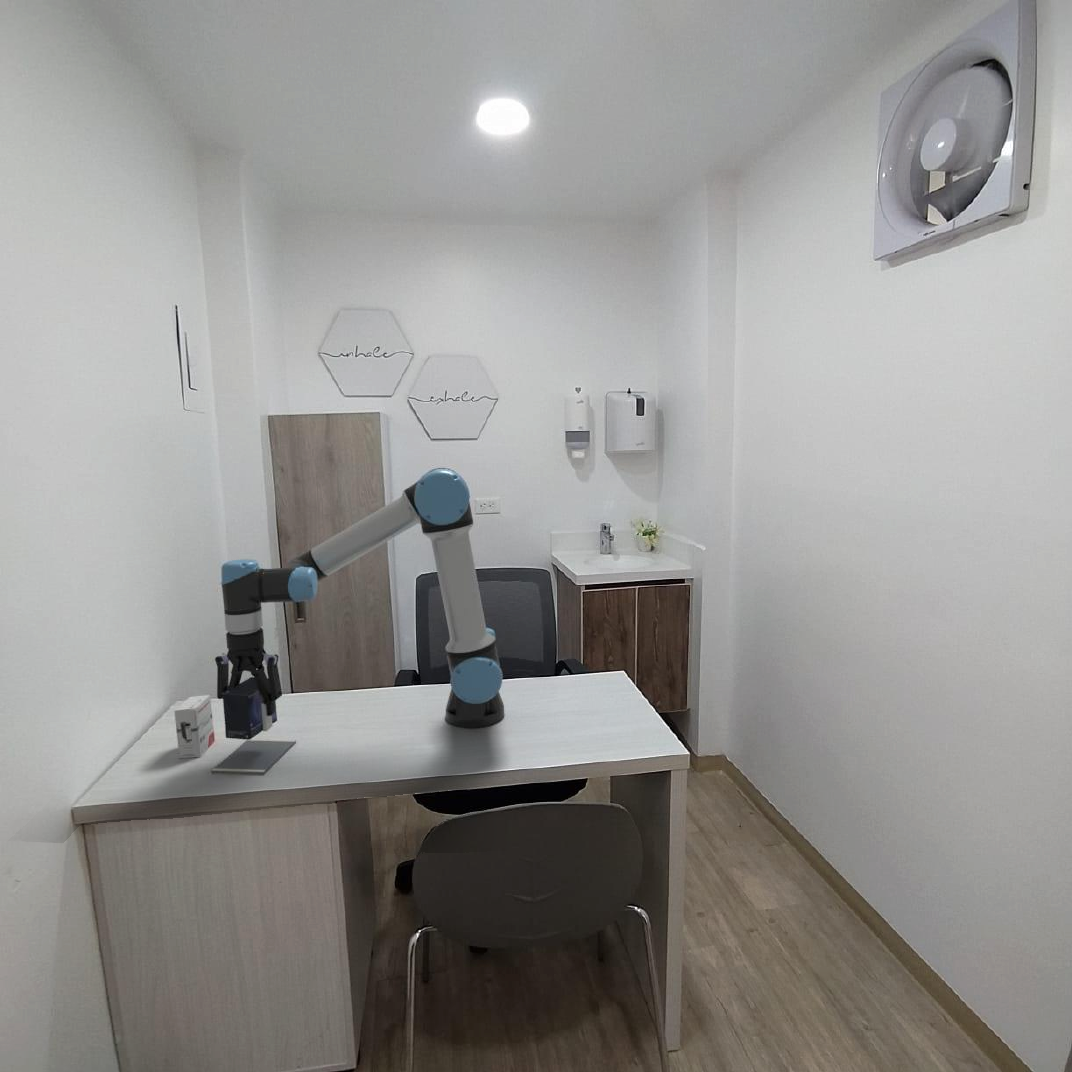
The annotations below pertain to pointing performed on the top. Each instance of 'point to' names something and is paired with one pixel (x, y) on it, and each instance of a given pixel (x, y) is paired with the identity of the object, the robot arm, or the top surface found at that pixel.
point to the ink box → (194, 726)
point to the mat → (254, 757)
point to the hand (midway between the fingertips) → (252, 728)
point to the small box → (244, 710)
